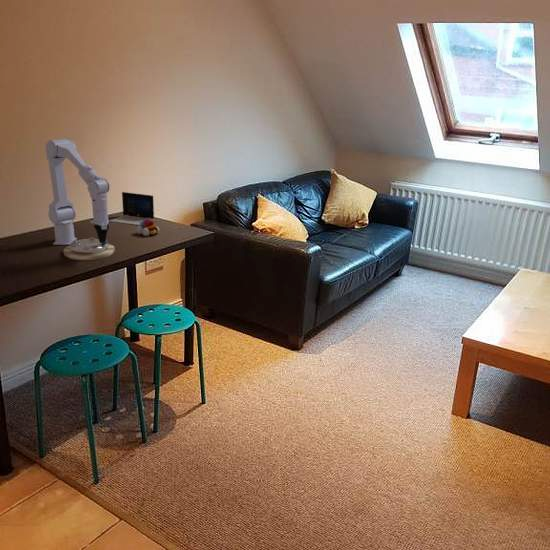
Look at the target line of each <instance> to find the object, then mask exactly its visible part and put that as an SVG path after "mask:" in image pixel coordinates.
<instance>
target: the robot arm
mask: <svg viewBox="0 0 550 550" xmlns="http://www.w3.org/2000/svg"><path fill="white" fill-rule="evenodd" d="M44 146H45V153H46V160H48V167H49V173H50V174H49V176H50V181H51V189H52V195H53V201H52V202H51V203H50V204H48V218H49V220H50V221H51V223H52V224H53V227H54V236H55V241H54V242H53V243H52V245H56V246H57V245H59V246H60V245H63V246H64V245H65V246H67V245H68V246H70V243H72V242H73V240H78V238H77V237H75V228H74V220H75V219H76V217H77V212H76V210H75V208H74V204H73V202H72V201H70V200H69V199H68V194H67V187H66V179H65V173H64V172H65V171H64V166H63V165H64V164H63V162H64V161H65V159H68V160H69V161H70V162H71V164H73V166H74V167H76V169H77V170H78V175H79V177H80V178H81V179H82V180H83V181H84V183H85V184H86V186H87V192H88V193H89V196H90V200H91V204H92V205H91V206H92V219H93V220H90V221H89V222H90V223H91V224H94V225H93V228H94V229H95V231H96V234H97V235H96V236H97V239H99V242H100V243H104V242H105V241H106V240H107V235H108V232H109V229H110V226H109V223H110V220H109V211H108V209H109V208H108V195H107V194H108V193H109V191H110V182H109V181H108V179H106V178H103V177H102V176H100V175H99V174H98V173H97V172H96V171H95V169H94V168H93V167H92V165H89V164H86V163H85V161H84V160H83V158H82V157H81V155H80V154H79V153H78V150H77V145H76V144H75V142H74V141H73V140H72V138H66V139H49V140H48V141H47V142H46V143H45V145H44Z"/></svg>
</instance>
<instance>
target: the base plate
mask: <svg viewBox="0 0 550 550" xmlns="http://www.w3.org/2000/svg"><path fill="white" fill-rule="evenodd" d="M115 252H116V249H115V246H114V245H113V244H111V243H108V249H107V250H106V251H104V252H101V253H95V254H77V253H73V252H71V251H70V245H68V246H67V245H66V247H64V249H63V255H64V257H65V258H67V259H70V260H76V261H94V260H95V261H96V260H102V259H106V258H108V257H111V256H112V255H114V254H115Z"/></svg>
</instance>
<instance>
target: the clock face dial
mask: <svg viewBox="0 0 550 550" xmlns="http://www.w3.org/2000/svg"><path fill="white" fill-rule="evenodd" d="M108 244H109V241H108V240H107V239H106V241H105V242H104V243H100V242H99V239H98V238H95V237H89V238H83V239H76V240H73V242H72V243H70V245H69V246H70V251H71V252H73V253H77V254H95V253H101V252H104V251H106V250H107V249H108Z"/></svg>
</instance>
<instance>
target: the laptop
mask: <svg viewBox="0 0 550 550" xmlns="http://www.w3.org/2000/svg"><path fill="white" fill-rule="evenodd" d="M121 198H122V215H121V216H118V217H115V218H113V219H110V220H109V222H112V223H118V224H119V223H120V224H126V225H135V226H140V222H141V221H144V219H149V220H153V221H154V220H155V211H154V210H155V207H154V195H150V194H144V193H143V194H142V193H134V192H125V191H122V192H121Z"/></svg>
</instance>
